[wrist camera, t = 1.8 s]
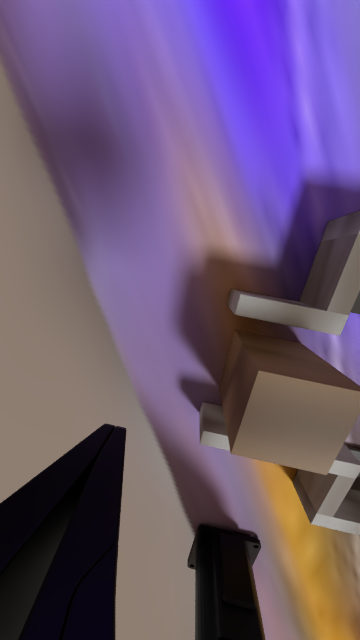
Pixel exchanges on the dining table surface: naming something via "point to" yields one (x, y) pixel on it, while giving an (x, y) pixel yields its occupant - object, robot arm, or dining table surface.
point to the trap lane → (324, 316)
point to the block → (285, 403)
